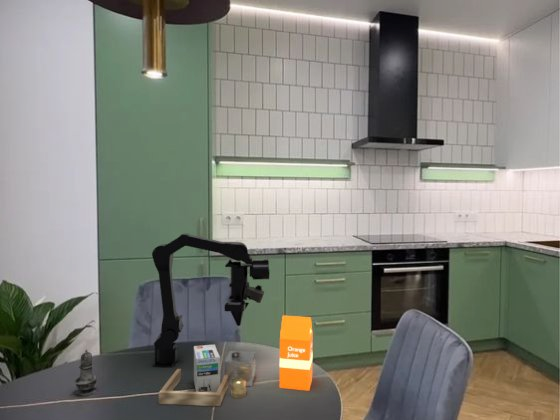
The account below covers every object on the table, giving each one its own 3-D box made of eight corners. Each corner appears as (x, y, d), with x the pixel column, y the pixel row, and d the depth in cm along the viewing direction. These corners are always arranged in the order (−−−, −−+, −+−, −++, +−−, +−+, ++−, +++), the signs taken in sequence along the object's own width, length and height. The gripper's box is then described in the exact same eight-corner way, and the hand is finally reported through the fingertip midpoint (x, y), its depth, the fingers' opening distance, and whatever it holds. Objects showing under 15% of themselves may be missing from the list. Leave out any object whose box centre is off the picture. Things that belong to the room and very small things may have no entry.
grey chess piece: (102, 388, 109) (102, 347, 109) (85, 398, 104) (86, 354, 104) (86, 385, 111) (86, 344, 111) (69, 394, 106) (69, 351, 105)
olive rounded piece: (230, 397, 105) (230, 383, 105) (232, 390, 109) (232, 376, 109) (244, 398, 104) (244, 383, 104) (246, 391, 108) (246, 377, 108)
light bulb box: (221, 395, 106) (221, 356, 106) (196, 398, 104) (196, 359, 104) (215, 378, 116) (215, 343, 116) (193, 381, 114) (193, 345, 114)
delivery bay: (158, 403, 101) (158, 392, 101) (177, 378, 116) (177, 368, 116) (219, 406, 100) (219, 394, 100) (230, 380, 115) (230, 370, 115)
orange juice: (284, 376, 118) (284, 311, 118) (312, 378, 116) (313, 313, 116) (279, 387, 111) (279, 319, 110) (309, 391, 109) (309, 321, 109)
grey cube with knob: (224, 385, 112) (224, 358, 112) (229, 373, 120) (230, 348, 120) (252, 386, 111) (252, 359, 111) (256, 374, 119) (256, 349, 119)
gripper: (259, 285, 120) (259, 335, 120) (265, 275, 138) (265, 318, 138) (224, 285, 120) (224, 334, 121) (235, 274, 139) (234, 317, 139)
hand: (238, 325), depth 130 cm, fingers closed
